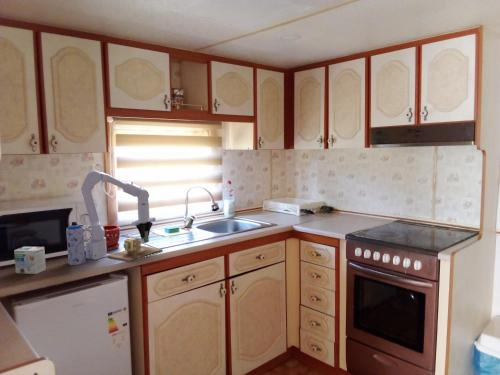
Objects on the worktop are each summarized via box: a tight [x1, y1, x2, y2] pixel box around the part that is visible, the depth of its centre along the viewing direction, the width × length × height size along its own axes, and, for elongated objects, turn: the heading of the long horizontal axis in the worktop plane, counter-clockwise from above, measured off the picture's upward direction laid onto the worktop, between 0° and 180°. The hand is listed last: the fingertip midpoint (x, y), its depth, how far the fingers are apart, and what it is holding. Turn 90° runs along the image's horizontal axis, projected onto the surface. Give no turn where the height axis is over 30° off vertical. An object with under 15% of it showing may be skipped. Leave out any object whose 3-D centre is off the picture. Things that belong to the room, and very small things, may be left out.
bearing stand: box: [107, 236, 163, 263], centre depth 203 cm, size 22×16×8 cm
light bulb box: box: [13, 246, 47, 275], centre depth 179 cm, size 11×7×11 cm, turn 81°
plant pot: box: [102, 224, 121, 251], centre depth 215 cm, size 13×13×12 cm
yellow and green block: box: [123, 231, 150, 249], centre depth 203 cm, size 14×3×6 cm, turn 147°
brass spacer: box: [123, 239, 134, 251], centre depth 200 cm, size 2×5×5 cm, turn 57°
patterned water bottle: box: [65, 221, 87, 266], centre depth 191 cm, size 8×8×20 cm
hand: (144, 236), depth 208 cm, fingers closed on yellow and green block, 2 cm apart
